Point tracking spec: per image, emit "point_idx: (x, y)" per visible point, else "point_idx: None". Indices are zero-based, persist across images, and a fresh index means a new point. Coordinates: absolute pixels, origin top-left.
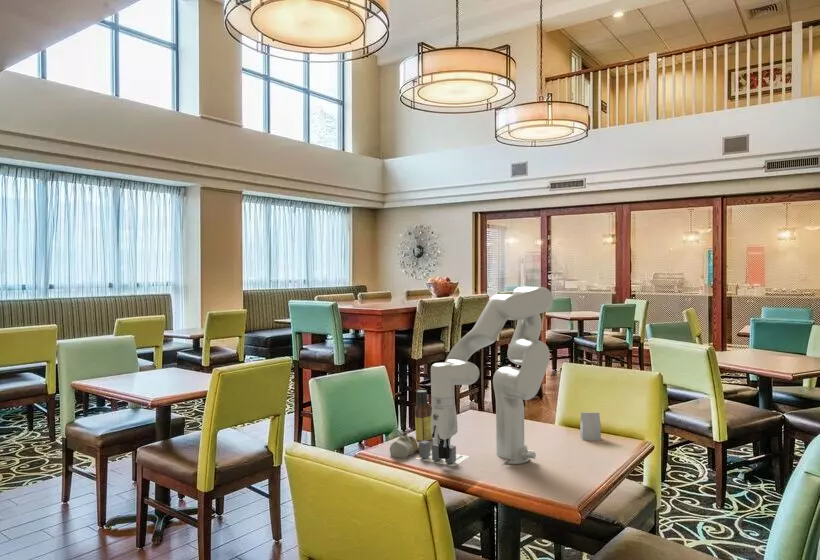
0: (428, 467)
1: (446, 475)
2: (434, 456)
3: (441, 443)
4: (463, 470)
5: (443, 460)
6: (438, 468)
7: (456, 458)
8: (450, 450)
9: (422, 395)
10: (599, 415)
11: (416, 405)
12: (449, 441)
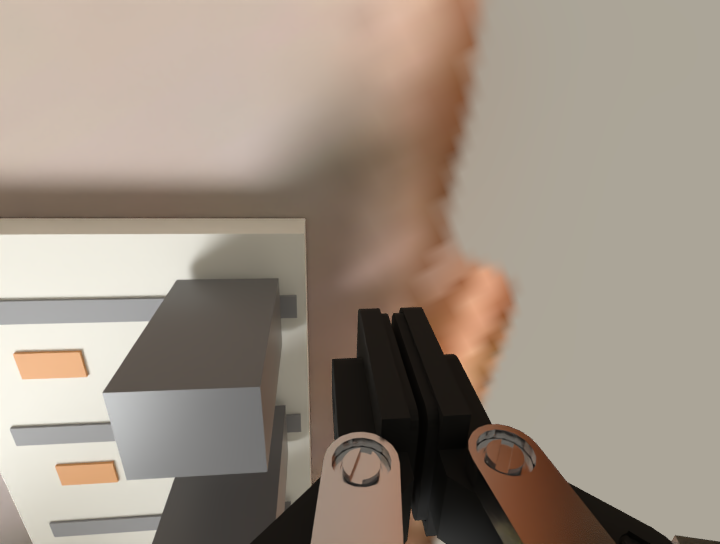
0: None
1: (441, 222)
2: (284, 464)
3: (633, 526)
4: (236, 143)
5: None
6: (320, 353)
7: (83, 319)
8: (265, 378)
9: None
10: None
11: None
12: (350, 497)
